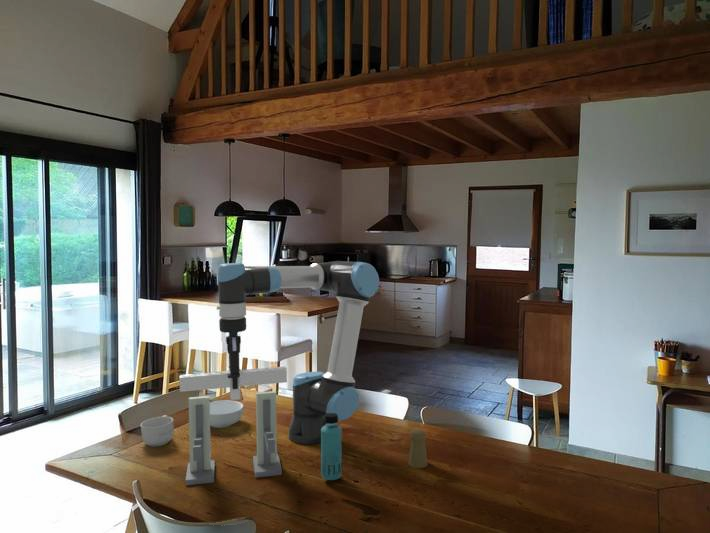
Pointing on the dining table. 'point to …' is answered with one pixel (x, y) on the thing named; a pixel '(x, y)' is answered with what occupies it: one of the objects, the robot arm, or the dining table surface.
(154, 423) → the teacup
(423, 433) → the green shaker
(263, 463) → the rail standards
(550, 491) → the dining table surface
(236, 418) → the cereal bowl
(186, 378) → the hang rail
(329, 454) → the beverage bottle
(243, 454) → the dining table surface
